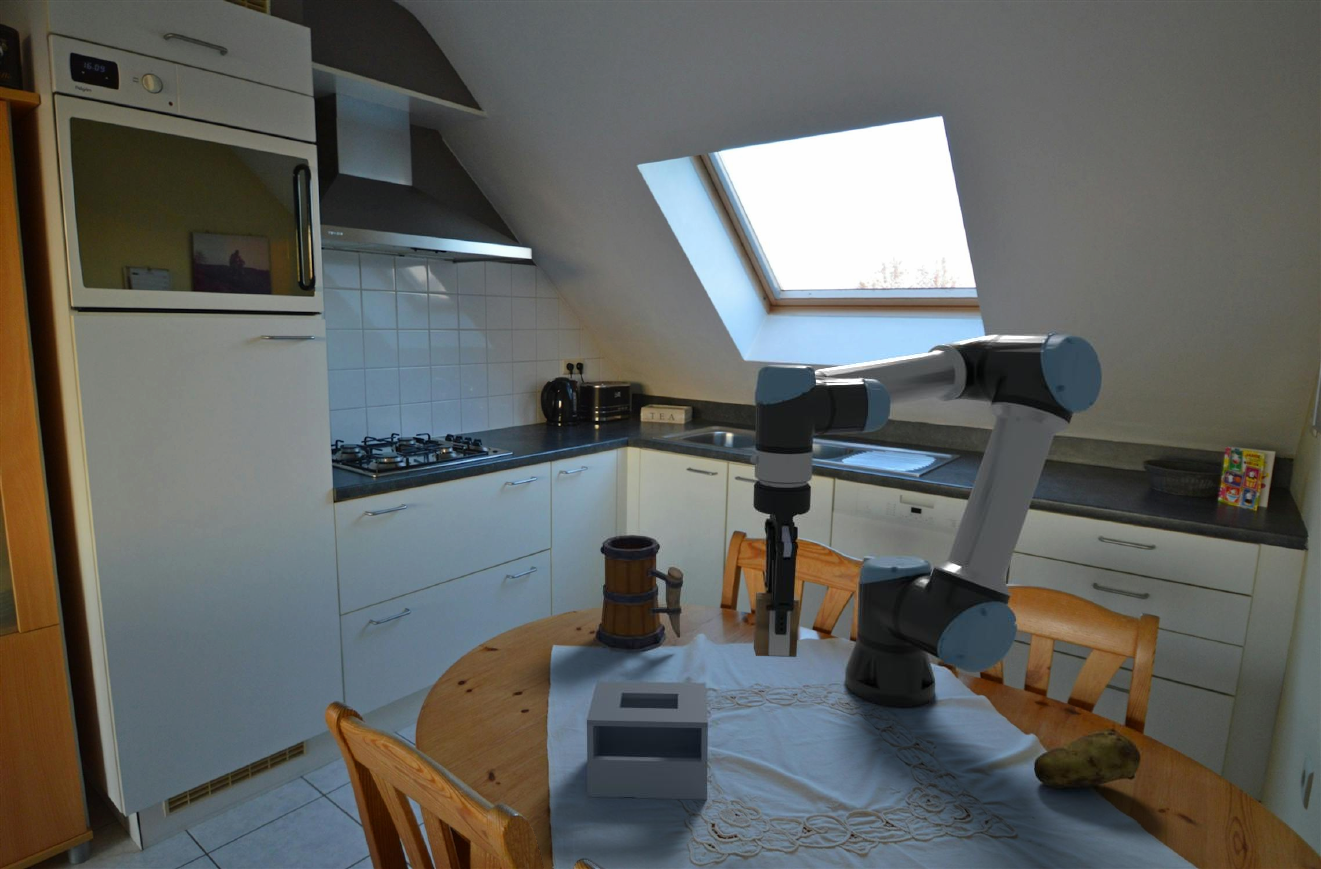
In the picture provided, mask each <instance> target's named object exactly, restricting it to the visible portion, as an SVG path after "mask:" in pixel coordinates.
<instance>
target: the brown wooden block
mask: <svg viewBox="0 0 1321 869" xmlns="http://www.w3.org/2000/svg"><path fill="white" fill-rule="evenodd" d="M771 604H772V593H766V592H756V593H755V611H754V613H755V614H754V633H753V634H754V635H753V636H754V637H753V651H754V653H755V656H756V657H770V656H769V654H768V649H769V616H770V611H767V610H766V605H771ZM799 609H800V599H799V597H798V595H797V593H794V610H793V611H791V616H790V645H789V656H777V657H782V658H784V657H785V658H797V652H798V651H797V649H798V630H799V613H800V612H799V611H800V610H799Z"/></svg>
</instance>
